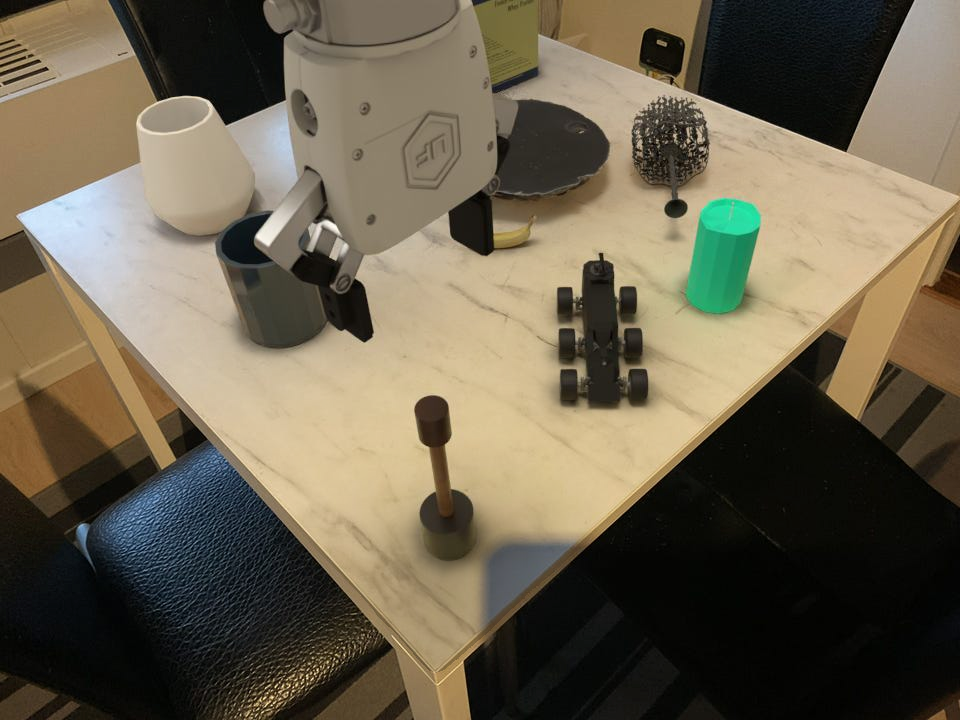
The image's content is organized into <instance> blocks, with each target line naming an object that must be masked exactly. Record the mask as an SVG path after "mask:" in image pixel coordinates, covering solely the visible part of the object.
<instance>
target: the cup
mask: <svg viewBox="0 0 960 720" xmlns="http://www.w3.org/2000/svg"><path fill="white" fill-rule="evenodd" d="M213 105H214V104H212V102H211V101H210V100H209V99H206V98H203V97H201V96H191V95H182V96H174V97H169V98H166V99H163V100H159V101H156V102H155V103H153V104H151V105H149V106H148V107H146V108H145V109H143V110H142V112H140V113H139V114H138V115H137V119H136V123H135V125H136V136H137V144H138V154H139V161H140V170H141V171H140V172H141V179H142V188H143V196H144V199H145V201H146V203H147V205H148V207H149V209H150V211H152V213H153V215H155V216H156V217H158V218H159V219H161V220H163V221H164V222H166V223H167V224H169V225H170V226H172V227H173V228H175V229H177V230H178V231H180V232H182V233H184V234H186V235H191V236H198V237H202V236H203V237H204V236H208V235H209V236H210V235H216V234H218V233H219V234H220V233H221V231H222V230H223V229H225V228H226V227H227V226H228V225H229V224H231V223H232V222H233V221H235V220H237V219H240V218H242V217H244V216H246V215H247V214H246V213H247V211H248V209H249V206H250V203H251V201H252V198H253V195H254V193H255V183H256V173H255V171H254V169H253V167H252V166H251V164H250V162H249V161H248V159H247V157H246V155H244V152H243V151H242V149H241V148H240V146H239V144H238V143H237V142H236V140H235V138H234V137H233V135H232V133H231V131H230V130H229V129H228V127H227V125H226V124H225V123H224V121H223V119H222V118H221V116H220V114H219V113H218V110H216V108H215V106H213Z"/></svg>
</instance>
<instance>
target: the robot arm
mask: <svg viewBox="0 0 960 720" xmlns="http://www.w3.org/2000/svg"><path fill="white" fill-rule="evenodd" d="M262 9H263V15H264V17H265V20H266V22H267V24H268V25H269V27H270V28H271V29H272V30H273V31H274V32H275V33H277V34H278V35H279V34H280V35H281V34H285V33H286V32H289V31H291V30H292V31H291V32H290V33H288V34H287V35H286V36H285V37H284V38H283V74H284V75H283V76H284V92H285V104H286V114H287V115H286V116H287V122H288V131H289V138H290V143H291V149H292V156H293V161H294V166H295V171H296V177H297V181H296V182H295V183H294V185H293V186H292V187H291V189H290V190H289V191H288V192H287V194H286V195H285V196H284V198H283V199H282V200H281V201H280V202H279V204H278V205H277V207H276V208H275V209H274V210H273V211H274V212H273V213H272V214H271V216H270V217H269V218H268V219H267V221H266V222H265V223H264V225H263V226H262V227H261V228H260V230H259V231H258V232H257V234H256V235H255V238H254V244H255V246H256V247H257V248H258V249H260V250H261V251H262V252H263V253H265V254H266V255H267V256H268V257H270V258H271V259H272V260H273V261H275V262H276V263H277V264H278V265H280V266H281V267H282V268H283V269H285V270H286V271H288V272H289V273H290V274H292V275H293V276H295V277H296V278H298V279H299V280H301V281H303V282H306V283H310V284H314V285H318V289H319V293H320V297H321V301H322V305H323V308H324V312H325V315H326V318H327V319H328V320H327V322H328V323H330V325H331V326H332V327H334V328H335V329H337V330H338V331H339V332H343V331H346V332H348V333H349V334H351V335H352V336H353V337H355V338H356V339H358V340H359V341H361V342H362V343H366V342H368V341H370V340H371V339H373V338H374V334H375V331H374V325H373V320H372V316H371V311H370V306H369V301H368V300H369V299H368V296H367V291H366V287H365V285H364V284H363V282H362V281H360V280H358V279H357V278H356V276H357V274H358V271H359V269H360V266H361V264H362V261H363V259H364V257H365V256H373V255H374V256H375V255H379V254H381V253H384V252H386V251H388V250H390V249H391V248H393V247H395V246H397V245H399V244H400V243H402V242H403V241H405V240H406V239H408V238H409V237H411V236H412V235H414V234H416V233H417V232H419V231H421V230H422V229H424V228H425V227H427V226H428V225H430V224H432V223H434V222H435V221H436V220H438V219H439V218H441V217H442V216H445V214H447V213H448V224H449V225H448V226H449V235H450V237H451V239H452V240H453V241H455V242H457V243H459V244H460V245H462V246H463V247H465V248H468V249H469V250H470V251H473V252H475V253H476V254H478V255H479V256H481V257H488V256H489V255H491V254H492V253H494V252H495V248H494V234H493V233H494V217H493V216H494V215H493V214H494V213H493V212H494V211H493V199H492V198H491V197H493V196H492V195H494V194H495V193H496V192H497V191H498V189H499V186H500V178H499V177H498V176H497V174H498V172H499V170H500V168H501V166H502V164H503V162H504V160H505V158H506V156H507V154H508V151H509V149H510V142H509V140H508V139H507V138H508V135H511V132H512V128H513V125H514V121H515V118H516V115H517V111H518V102H517V101H515V100H516V99H513V98H510V97H509V96H506V95H503V94H501V93H497V92H495V93H492V87H491V80H490V74H489V67H488V62H487V57H486V51H485V46H484V42H483V38H482V34H481V30H480V26H479V23H478V19H477V16H476V13H475V10H474V7H473V4H472V1H471V0H264V1H263V6H262ZM312 224H314V225H315V227H314V229H313V231H312V233H311V234H312V235H311V236H310V238H311V240H310V242H309V245H308V247H307V250H303V249H301V248H300V246H299V241H300V238H301V237H302V235H303V234H304V233H305V231H306V230H307V229H308V230H309V227H310V226H311V225H312ZM337 238H338V239H340V240H342V241H343V242H342V244H341V247H340V250H339V253H338V255H337V257H336V260H335V259H334V258H332V257H330V256H331V253H332V252H333V248H334V246H335V243H336V241H337Z"/></svg>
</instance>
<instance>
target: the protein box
mask: <svg viewBox="0 0 960 720" xmlns="http://www.w3.org/2000/svg"><path fill="white" fill-rule="evenodd" d="M471 1H472V4H473V7H474V10H475V13H476V16H477V19H478V23H479V26H480V30H481V34H482V38H483V42H484V46H485V51H486V57H487V62H488V67H489V74H490V80H491V87H492V93H498V92H500V91H503V90H505V89H508V88H510V87H512V86H515V85H518V84H520V83H522V82H525V81H527V80H530V79H532V78H535V77H537V76H539V7H540V5H539V1H540V0H471Z"/></svg>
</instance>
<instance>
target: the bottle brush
mask: <svg viewBox="0 0 960 720" xmlns="http://www.w3.org/2000/svg"><path fill="white" fill-rule="evenodd" d="M413 412H414V417H415V423H416V430H417V436H418V439H419V442H420V443H421V444H422V445H423V446H425V447H427V448H428V451H429V458H430V465H431V469H432V470H431V471H432V477H433V482H434V489H435V491H433V492H431V493H430V494H429V495H427V497H425V499H424V500H423V501H422V503H421V505H420V508H419V520H420V525H421V530H422V536H423V540H424V545H425V548H426V550H427V551H428V552H429V553H430V555H432V556H433V557H435V558H438V559H440V560H443V561H454V560H458V559H461V558H463V557H464V556H466V555H468V554H469V553H470V552H471V550H472V549H473V548H474V546H475V544H476V541H477V530H476V521H475V520H476V519H475V511H474V510H475V509H474V504H473V502H472V500H471V498H470V497H469V496H468V495H466V494H465V493H464V492H462V491H461V490H459V489H453V488H452V487H451V485H452V484H451V479H450V472H449V464H448V457H447V449H446V445H447V444H448V443H449V442H450V440H451V439H452V436H453V430H452V423H451V414H450V406H449V403H448V401H447V400H446V399H445V398H444V397H442V396H440V395H434V394H430V395H426V396H424V397H421V398H420V399H418V400H417V402H416V403H415V405H414V408H413Z"/></svg>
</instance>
